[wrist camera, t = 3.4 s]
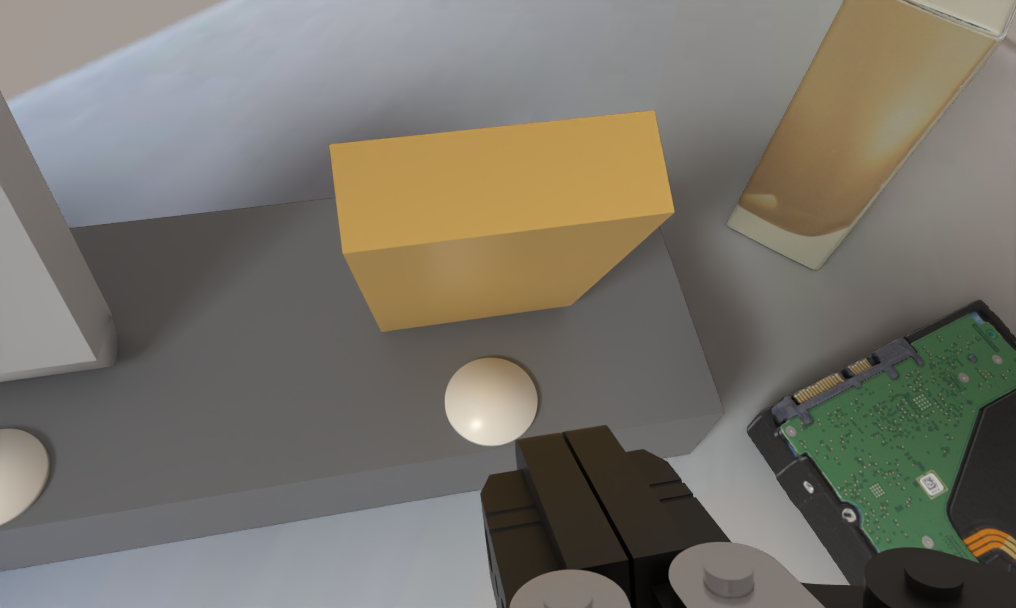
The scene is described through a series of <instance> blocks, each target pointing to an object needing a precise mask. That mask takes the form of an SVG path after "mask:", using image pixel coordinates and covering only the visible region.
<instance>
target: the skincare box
mask: <svg viewBox="0 0 1016 608" xmlns="http://www.w3.org/2000/svg"><path fill="white" fill-rule="evenodd" d="M1015 13H1016V0H844V1H843V3H842V5H841V7H840V9H839V11H838V13H837V14H836V16H835V18H834V20H833V22H832V24H831V26H830V28H829V30H828V32H827V34H826V35H825V37H824V39H823V41H822V43H821V45H820V47H819V49H818V51H817V53H816V55H815V57H814V58H813V60H812V62H811V64H810V66H809V68H808V70H807V72H806V74H805V76H804V78H803V80H802V81H801V83H800V85H799V87H798V89H797V91H796V93H795V95H794V97H793V99H792V100H791V102H790V104H789V106H788V108H787V110H786V112H785V114H784V116H783V117H782V119H781V121H780V123H779V125H778V127H777V129H776V131H775V133H774V135H773V137H772V138H771V140H770V142H769V144H768V146H767V148H766V150H765V152H764V153H763V155H762V157H761V159H760V161H759V163H758V165H757V166H756V168H755V170H754V172H753V174H752V176H751V178H750V180H749V181H748V183H747V185H746V187H745V189H744V191H743V193H742V195H741V197H740V199H739V201H738V203H737V205H736V207H735V209H734V211H733V212H732V214H731V216H730V218H729V220H728V222H727V225H728V226H729V227H730V228H732V229H734V230H736V231H738V232H740V233H742V234H744V235H745V236H747V237H749V238H751V239H753V240H755V241H757V242H759V243H761V244H763V245H764V246H766V247H768V248H770V249H772V250H774V251H776V252H778V253H780V254H782V255H784V256H786V257H788V258H790V259H792V260H794V261H797V262H798V263H800V264H803V265H804V266H806V267H808V268H810V269H813V270H819V269H820V268H821V267H822V266H823V265H824V264H825V262H826V261H827V260H828V259H829V257H830V256H831V255H832V254H833V252H834V251H835V250H836V249H837V247H838V246H839V245H840V244H841V242H842V241H843V240H844V239H845V237H846V236H847V235H848V234H849V232H850V231H851V230H852V229H853V227H854V226H855V225H856V224H857V222H858V221H859V220H860V219H861V217H862V216H863V215H864V214H865V212H866V211H867V210H868V208H869V207H870V206H871V205H872V204H873V202H874V201H875V200H876V199H877V197H878V196H879V195H880V194H881V192H882V191H883V190H884V189H885V187H886V186H887V185H888V184H889V182H890V181H891V180H892V179H893V177H894V176H895V175H896V174H897V172H898V171H899V170H900V169H901V167H902V166H903V165H904V164H905V162H906V161H907V160H908V159H909V157H910V156H911V155H912V154H913V152H914V151H915V150H916V149H917V147H918V146H919V145H920V144H921V142H922V141H923V140H924V139H925V137H926V136H927V135H928V134H929V132H930V131H931V130H932V129H933V127H934V126H935V125H936V124H937V122H938V121H939V120H940V119H941V117H942V116H943V115H944V114H945V112H946V111H947V110H948V109H949V107H950V106H951V105H952V104H953V102H954V101H955V100H956V99H957V97H958V96H959V95H960V94H961V93H962V91H963V90H964V89H965V88H966V86H967V85H968V84H969V83H970V81H971V80H972V79H973V78H974V76H975V75H976V74H977V73H978V71H979V70H980V69H981V68H982V66H983V65H984V64H985V63H986V61H987V60H988V59H989V58H990V56H991V55H992V54H993V53H994V51H995V50H996V49H997V48H998V46H999V45H1000V44H1001V42H1002V41H1003V40H1004V39H1005V37H1006V34H1007V32H1008V29H1009V27H1010V25H1011V23H1012V20H1013V18H1014V16H1015Z"/></svg>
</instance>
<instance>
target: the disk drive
mask: <svg viewBox="0 0 1016 608" xmlns="http://www.w3.org/2000/svg"><path fill="white" fill-rule="evenodd" d="M747 433H748V435H749V437H750V438H751V439H752V441H753V442H754V444H755V445H756V447H757V448H758V449H759V451H760V453H761V454H762V455H763V457H764V458H765V460H766V462H767V463H768V464H769V466H770V467H771V469H772V471H773V472H774V473H775V475H776V478H777V480H778V482H779V483H780V485H781V486H782V488H783V489H784V490H785V491H786V493H787V495H788V497H789V498H790V500H791V501H792V502H793V504H794V505H795V506H796V507H797V508H798V509H799V510H800V512H801V513H802V514H803V516H804V518H805V519H806V521H807V522H808V523H809V525H810V526H811V528H812V529H813V531H814V532H815V533H816V535H817V537H818V538H819V539H820V541H821V543H822V544H823V545H824V547H825V548H826V549H827V551H828V552H829V554H830V555H831V557H832V558H833V560H834V562H835V563H836V564H837V566H838V567H839V569H840V570H841V571H842V573H843V575H844V576H845V577H846V579H847V581H848V582H849V584H850V585H851V586H864V569H865V566H866V564H867V562H868V561H869V560H870V558H871V557H873V556H874V555H876V554H877V553H880V552H882V551H885V550H889V549H893V548H902V547H916V548H926V549H932V550H937V551H941V552H945V553H949V554H952V555H955V556H959V557H962V558H965V559H968V560H972V561H975V562H978V563H981V564H985V565H988V566H991V567H994V568H998V569H1001V570H1004V571H1007V572H1011V573H1014V574H1016V337H1015V336H1014V335H1013V334H1011V333H1010V330H1009V329H1008V328H1007V327H1006V326H1005V324H1004V323H1003V322H1002V320H1000V318H999V317H998V316H997V315H996V314H995V313H994V312H992V311H991V310H990V309H989V307H988V306H987V305H986V304H985V303H984V302H983V301H981V300H977V301H974V302H972V303H970V304H968V305H966V306H964V307H962V308H960V309H958V310H956V311H954V312H952V313H950V314H948V315H946V316H944V317H942V318H940V319H938V320H936V321H934V322H932V323H930V324H928V325H926V326H924V327H922V328H920V329H918V330H916V331H914V332H912V333H910V334H908V335H906V336H905V337H904V338H902V337H901V338H898V339H896V340H894V341H892V342H890V343H888V344H886V345H884V346H882V347H880V348H878V349H876V350H875V351H874V353H872V354H871V355H869V356H868V357H866V358H862V359H860V360H857V361H856V362H854V363H852V364H850V365H848V366H846V367H844V369H843V370H841V371H836V372H834V373H832V374H830V375H828V376H826V377H824V378H822V379H821V380H819V381H817V382H815V383H813V384H811V385H809V386H807V387H805V388H803V389H801V390H799V391H797V392H795V393H793V395H792V396H789V395H786V396H784V398H783V399H782V400H781V401H780V402H779V403H777V404H776V405H775V406H772V407H769V408H767V409H765V410H763V411H762V412H761V413H760V414H759V415H758V416H757V417H756V418H755V419H754V420H753V421H752V422H751V424H750V425H749V426H748V427H747Z"/></svg>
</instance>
